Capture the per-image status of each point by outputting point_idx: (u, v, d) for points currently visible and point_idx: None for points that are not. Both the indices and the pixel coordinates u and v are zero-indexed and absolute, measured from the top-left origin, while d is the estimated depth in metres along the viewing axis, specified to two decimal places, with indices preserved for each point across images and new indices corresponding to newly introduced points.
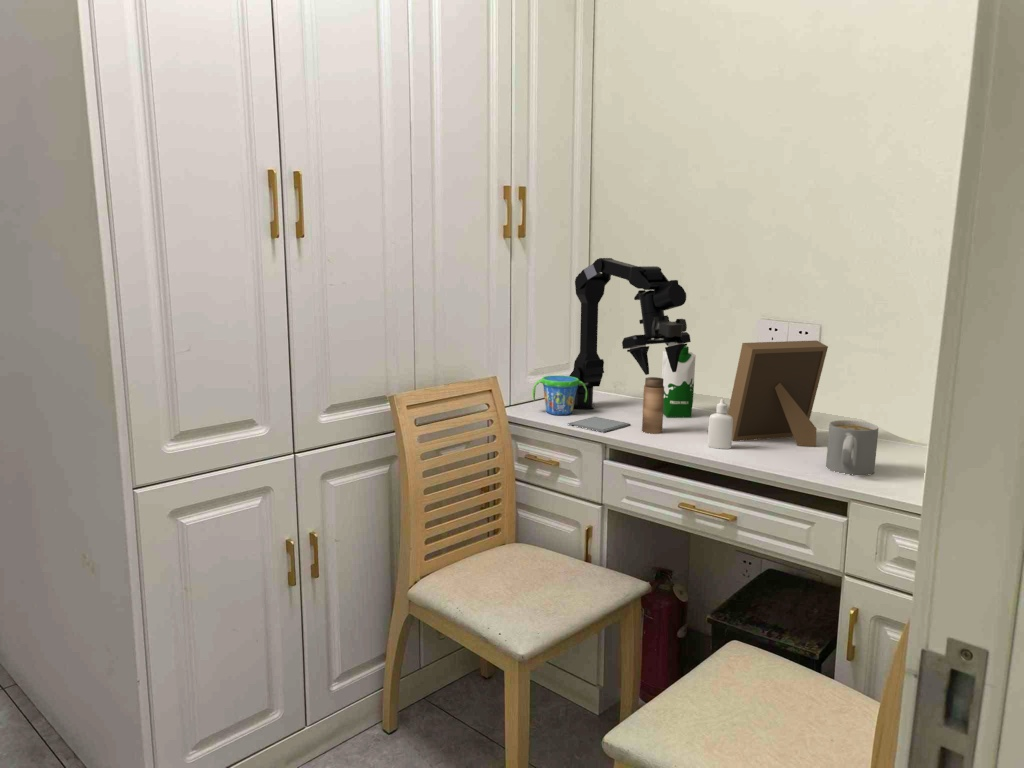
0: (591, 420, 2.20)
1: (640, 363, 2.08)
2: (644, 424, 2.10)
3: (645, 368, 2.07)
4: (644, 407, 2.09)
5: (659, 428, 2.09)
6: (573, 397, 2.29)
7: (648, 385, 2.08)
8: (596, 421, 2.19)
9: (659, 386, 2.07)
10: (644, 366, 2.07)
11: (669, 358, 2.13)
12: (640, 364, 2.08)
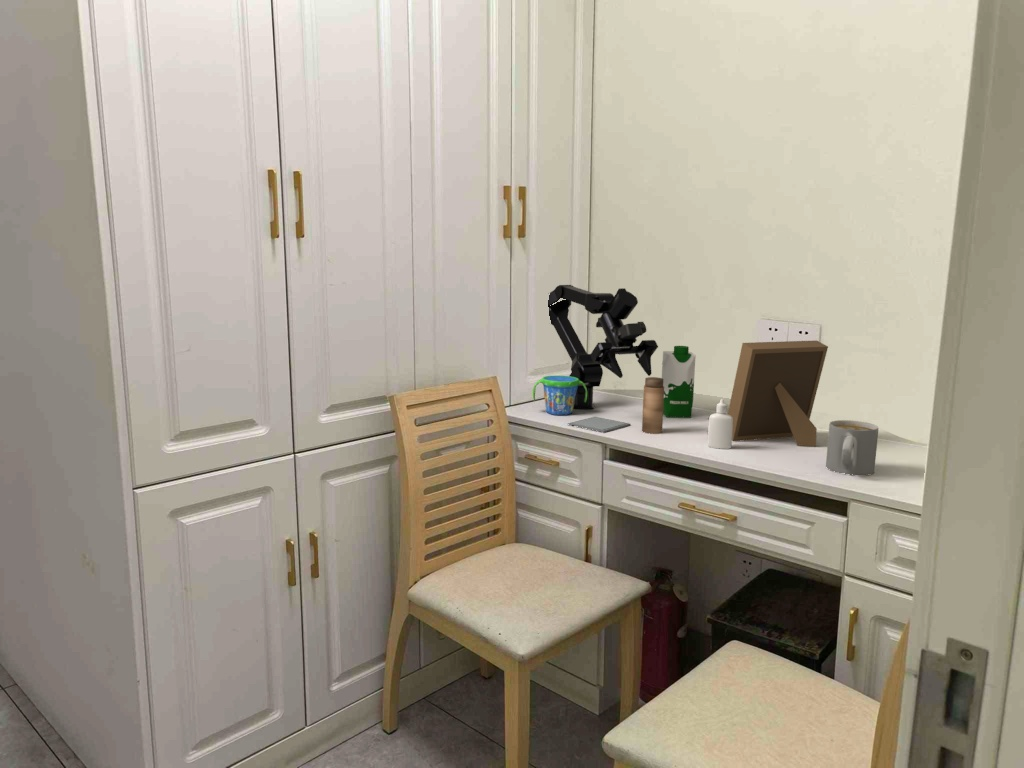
0: (591, 420, 2.20)
1: (612, 369, 2.16)
2: (644, 424, 2.10)
3: (618, 371, 2.15)
4: (644, 407, 2.09)
5: (659, 428, 2.09)
6: (573, 397, 2.29)
7: (648, 385, 2.08)
8: (596, 421, 2.19)
9: (659, 386, 2.07)
10: (616, 369, 2.15)
11: (643, 366, 2.21)
12: (613, 370, 2.16)
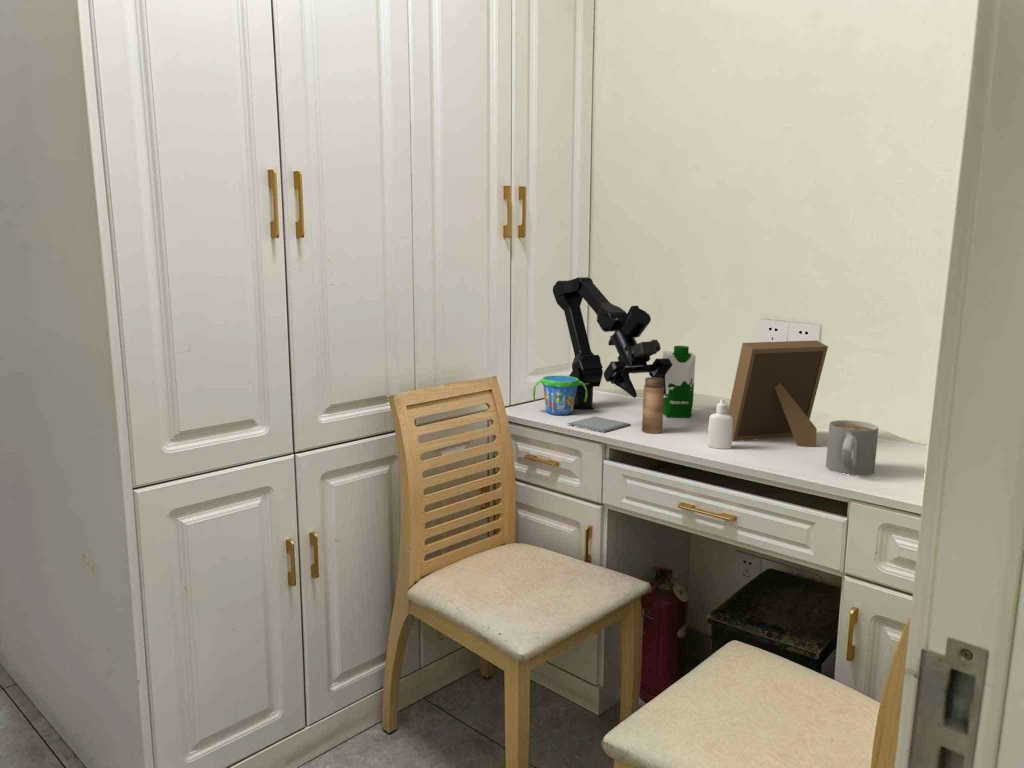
0: (591, 420, 2.20)
1: (626, 389, 2.11)
2: (644, 424, 2.10)
3: (631, 391, 2.09)
4: (644, 407, 2.09)
5: (659, 428, 2.09)
6: (573, 397, 2.29)
7: (648, 385, 2.08)
8: (596, 421, 2.19)
9: (659, 386, 2.07)
10: (630, 389, 2.10)
11: None
12: (627, 390, 2.11)
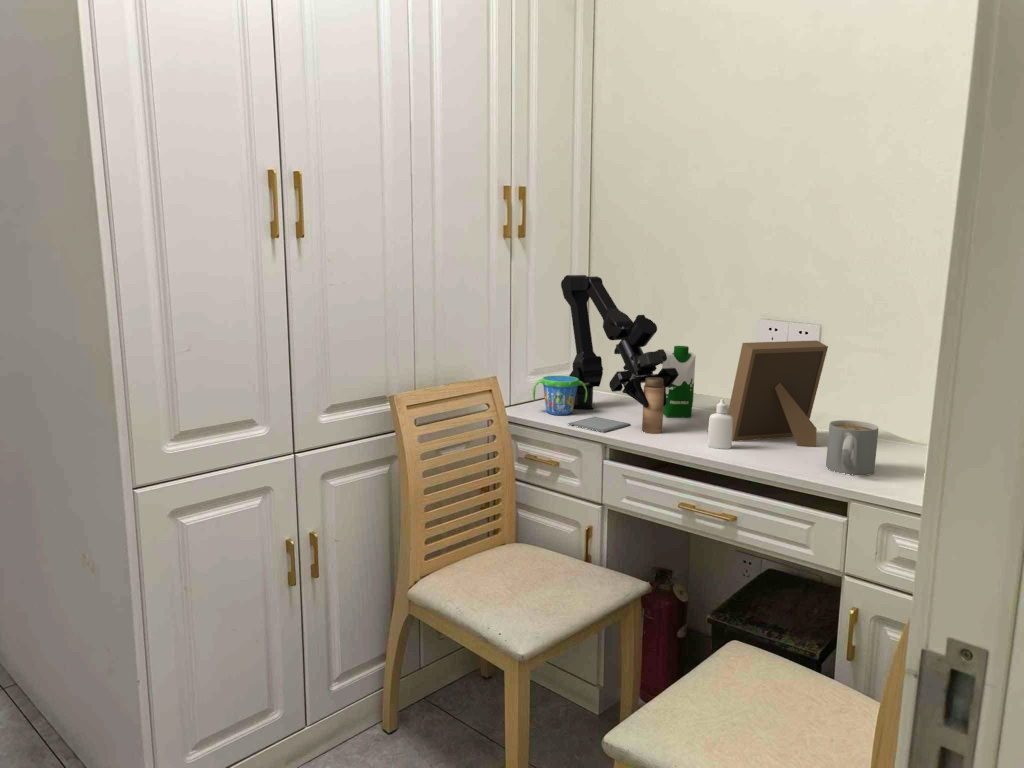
0: (591, 420, 2.20)
1: (638, 398, 2.09)
2: (644, 424, 2.10)
3: (643, 401, 2.08)
4: (644, 407, 2.09)
5: (659, 428, 2.09)
6: (573, 397, 2.29)
7: (648, 385, 2.08)
8: (596, 421, 2.19)
9: (659, 386, 2.07)
10: (642, 399, 2.08)
11: None
12: (639, 400, 2.09)
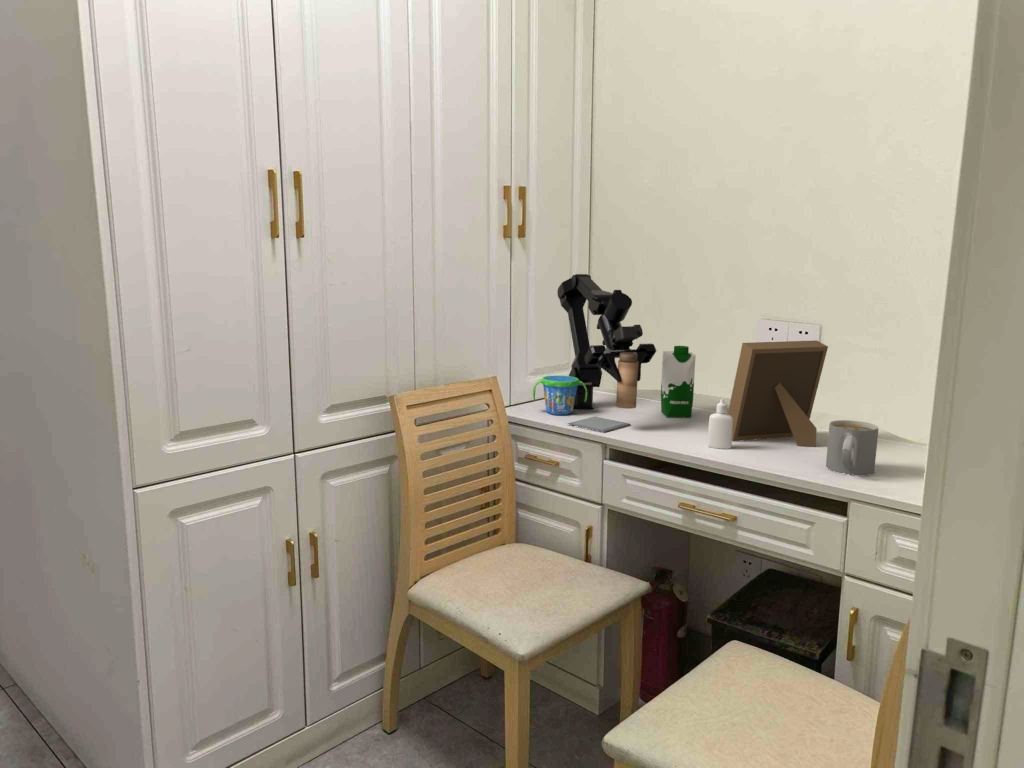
0: (591, 420, 2.20)
1: (611, 373, 2.10)
2: (617, 399, 2.11)
3: (616, 375, 2.09)
4: (618, 382, 2.10)
5: (632, 403, 2.10)
6: (573, 397, 2.29)
7: (621, 360, 2.08)
8: (596, 421, 2.19)
9: (632, 361, 2.07)
10: (615, 373, 2.09)
11: None
12: (612, 374, 2.10)
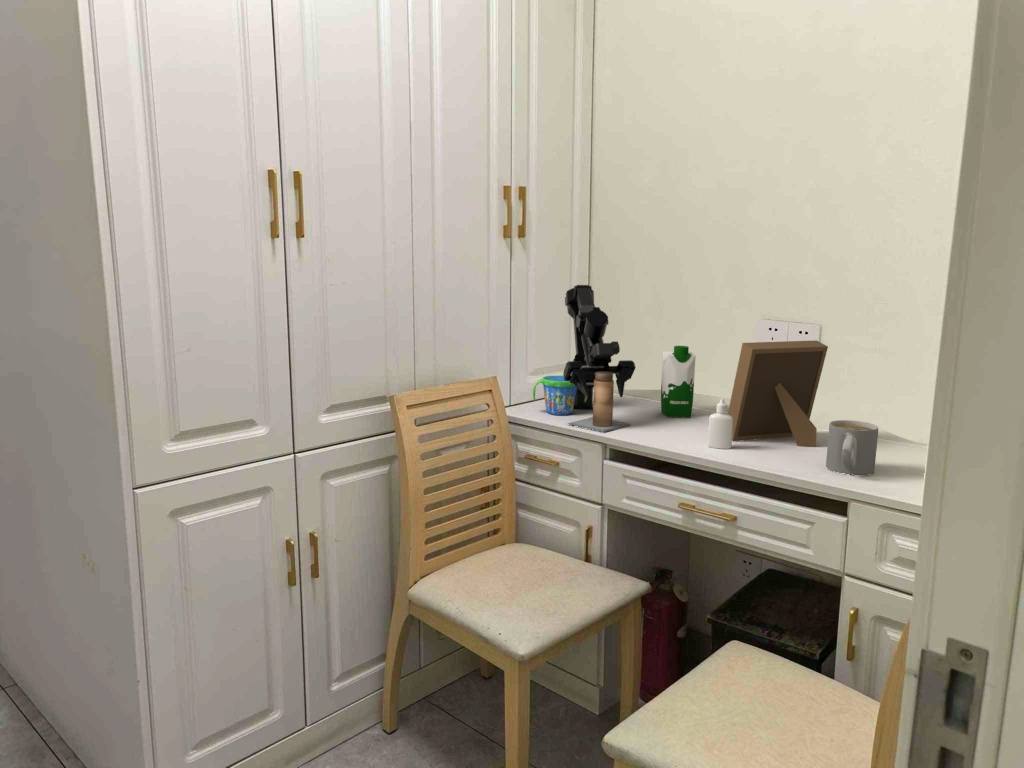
0: (591, 420, 2.20)
1: (581, 389, 2.14)
2: (593, 417, 2.14)
3: (585, 391, 2.12)
4: (593, 400, 2.14)
5: (606, 422, 2.13)
6: (573, 397, 2.29)
7: (596, 379, 2.12)
8: None
9: (606, 380, 2.11)
10: (584, 389, 2.12)
11: (618, 387, 2.17)
12: (582, 390, 2.14)
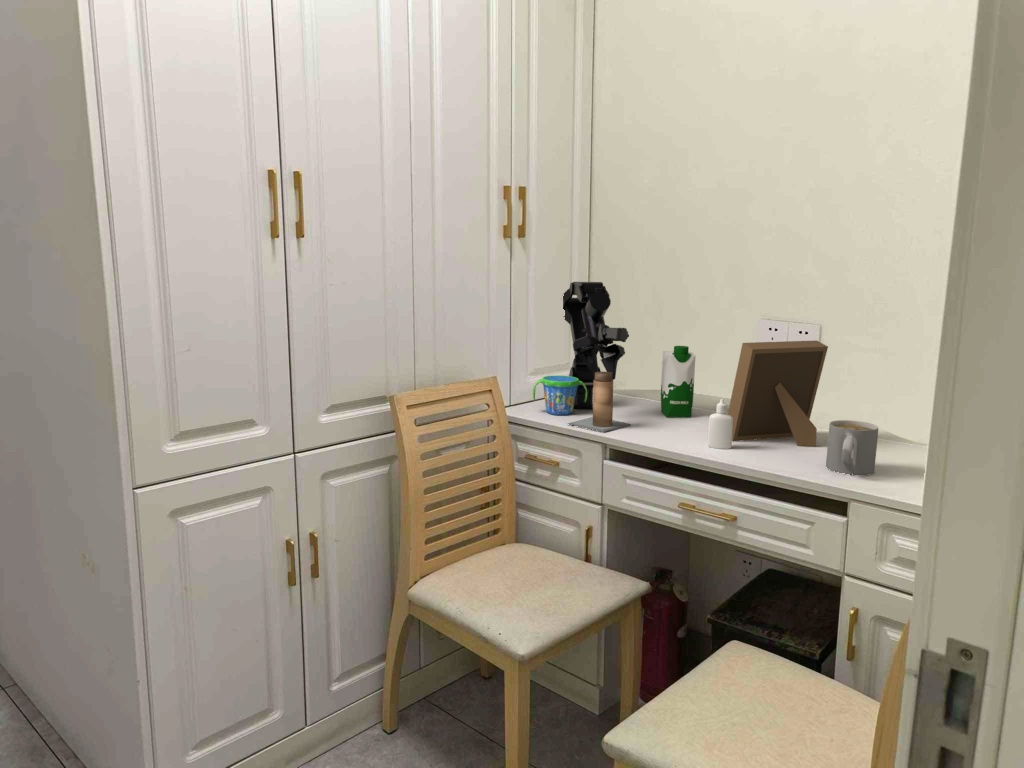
0: (591, 420, 2.20)
1: (589, 364, 2.18)
2: (593, 417, 2.14)
3: (595, 369, 2.17)
4: (593, 400, 2.14)
5: (606, 422, 2.13)
6: (573, 397, 2.29)
7: (596, 379, 2.12)
8: None
9: (606, 380, 2.11)
10: (594, 366, 2.17)
11: (606, 368, 2.27)
12: (590, 366, 2.18)
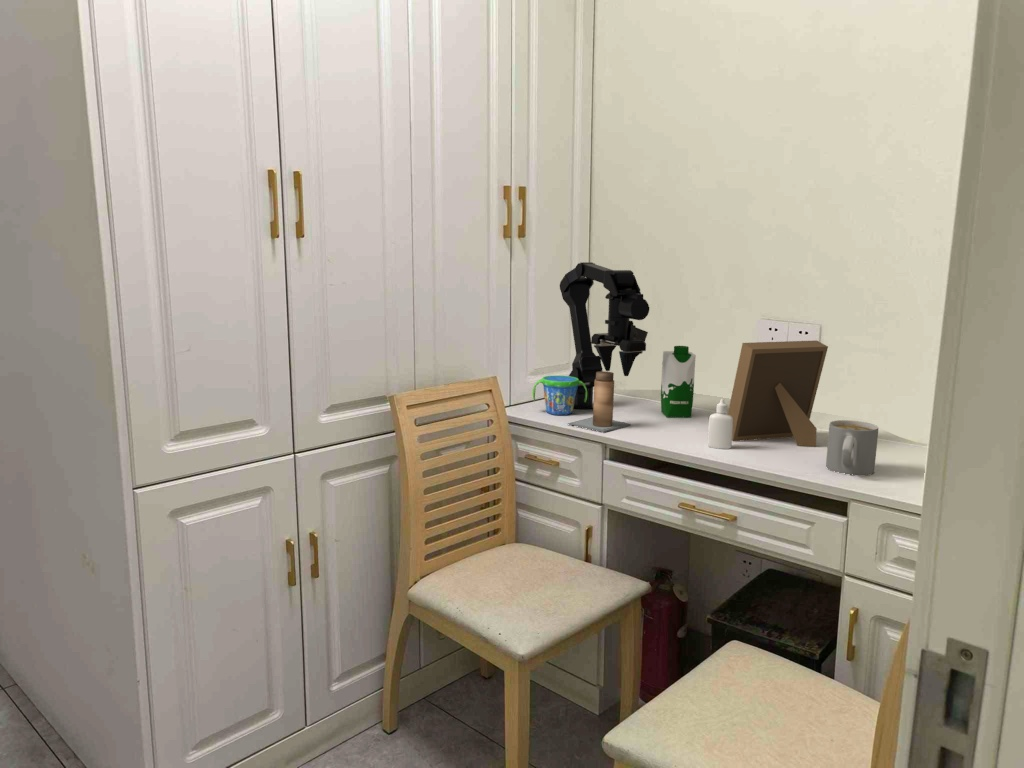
0: (591, 420, 2.20)
1: (626, 365, 2.16)
2: (593, 417, 2.14)
3: (629, 370, 2.18)
4: (594, 400, 2.14)
5: (606, 421, 2.13)
6: (573, 397, 2.29)
7: (597, 378, 2.12)
8: None
9: (607, 380, 2.11)
10: (629, 368, 2.17)
11: (604, 357, 2.25)
12: (626, 366, 2.17)
